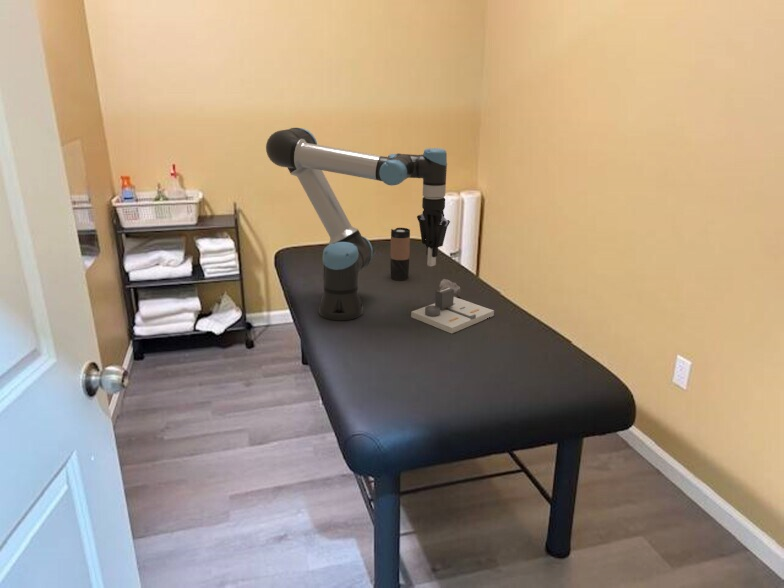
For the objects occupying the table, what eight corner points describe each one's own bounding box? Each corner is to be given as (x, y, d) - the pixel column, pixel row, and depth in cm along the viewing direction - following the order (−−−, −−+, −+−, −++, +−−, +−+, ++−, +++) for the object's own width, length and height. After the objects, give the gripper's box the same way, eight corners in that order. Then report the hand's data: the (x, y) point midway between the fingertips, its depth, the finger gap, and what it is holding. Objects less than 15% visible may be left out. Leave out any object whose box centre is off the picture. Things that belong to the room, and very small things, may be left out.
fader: (441, 309, 194) (442, 292, 191) (435, 307, 196) (435, 290, 193) (453, 305, 197) (454, 288, 195) (446, 303, 199) (447, 286, 197)
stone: (443, 302, 207) (444, 287, 205) (431, 294, 216) (431, 279, 214) (463, 299, 211) (463, 284, 209) (449, 291, 219) (450, 276, 217)
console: (451, 333, 181) (452, 322, 180) (411, 317, 194) (411, 306, 192) (493, 315, 196) (494, 305, 194) (453, 301, 208) (453, 291, 207)
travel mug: (408, 281, 228) (410, 232, 221) (389, 280, 228) (390, 232, 221) (408, 275, 236) (410, 227, 229) (390, 274, 236) (391, 227, 229)
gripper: (456, 198, 186) (453, 267, 195) (427, 192, 195) (425, 259, 203) (441, 201, 181) (438, 271, 190) (411, 195, 190) (410, 263, 198)
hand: (431, 265), depth 197 cm, fingers closed
